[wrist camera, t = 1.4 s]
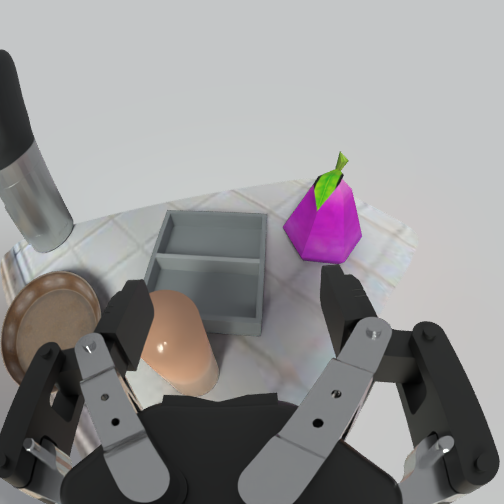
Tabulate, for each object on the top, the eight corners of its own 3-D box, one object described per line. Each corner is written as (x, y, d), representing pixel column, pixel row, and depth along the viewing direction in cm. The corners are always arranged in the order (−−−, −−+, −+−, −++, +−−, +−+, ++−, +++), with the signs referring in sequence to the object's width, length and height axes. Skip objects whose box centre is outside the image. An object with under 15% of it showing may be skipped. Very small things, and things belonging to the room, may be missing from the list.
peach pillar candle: (165, 392, 28) (117, 353, 18) (173, 346, 31) (135, 286, 21) (216, 399, 28) (194, 366, 18) (221, 351, 31) (205, 292, 21)
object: (116, 395, 27) (104, 389, 25) (10, 400, 24) (-4, 394, 22) (109, 272, 38) (101, 259, 36) (19, 293, 35) (9, 282, 33)
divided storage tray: (143, 324, 33) (134, 311, 30) (172, 227, 43) (167, 210, 40) (260, 336, 32) (261, 323, 30) (265, 231, 42) (266, 213, 40)
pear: (277, 215, 45) (284, 127, 33) (343, 211, 45) (365, 129, 34) (291, 276, 38) (308, 183, 26) (367, 267, 38) (406, 183, 27)
